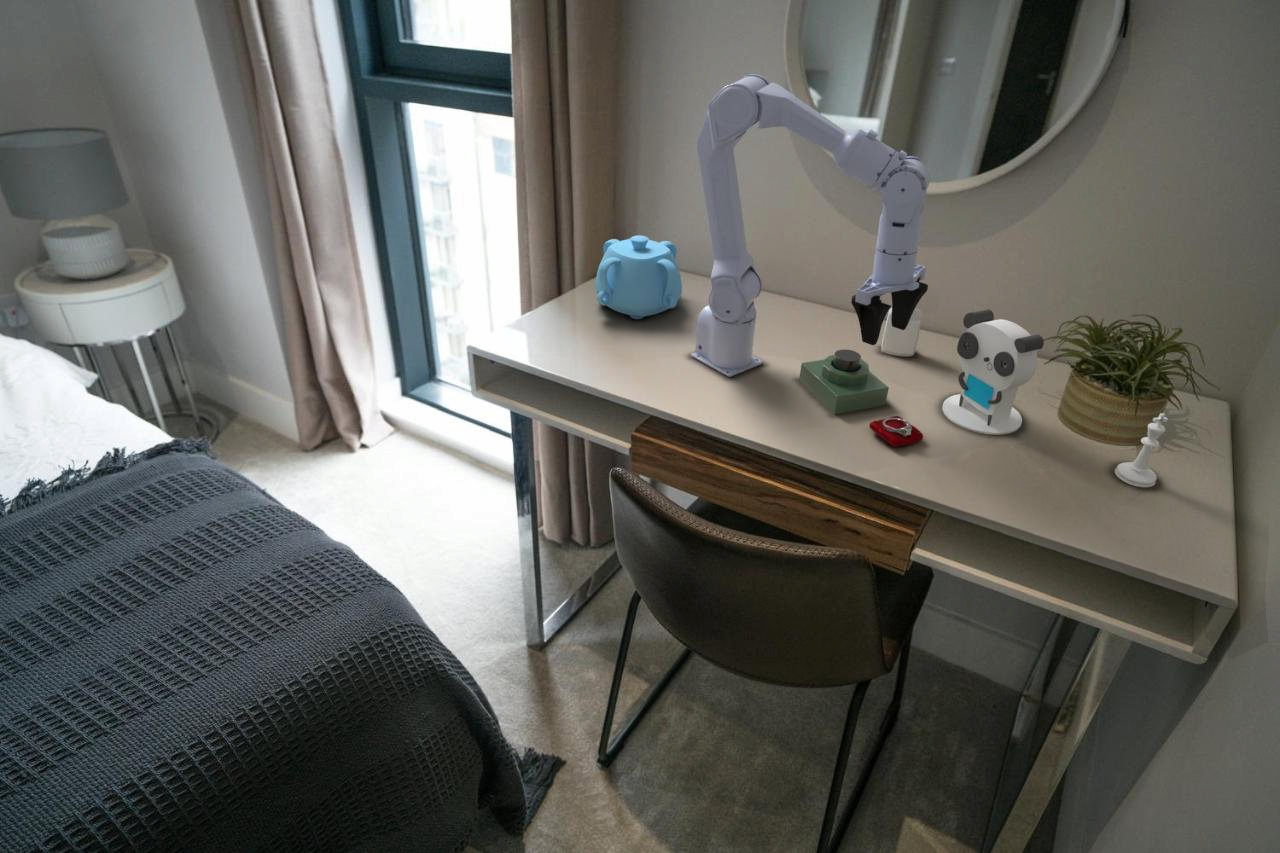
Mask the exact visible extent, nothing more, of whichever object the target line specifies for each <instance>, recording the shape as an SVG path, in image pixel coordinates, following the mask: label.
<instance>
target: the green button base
mask: <svg viewBox="0 0 1280 853" xmlns="http://www.w3.org/2000/svg"><path fill="white" fill-rule="evenodd" d="M833 360H834V354H832V355H828V356H826V357H825V358H823V359H819V360H818V359H817V360H811V361H806V362H801V364H800V372H799V378H798V379H799V382H800V383H801V384H802V385H803V386H804V387H805V388H806V389H807V390H808V391H810V392H811V394H813V396H815V397H816V399H818V400H819V401H820V402H821V403H822V404H823V405H824V406H825V407H826V408H827V409H828V410H829V412H831V413H832V414H833V415H838V414H843V413H844V414H845V413H849V412H854V411H861V410H866V409H872V408H876V407H877V408H878V407H882V406H886V403H887V398H888V394H889V390H890V389H889V388H890V387H889V385H887V384H886V383H884V382H883V381H882V380H881V379H879V378H878V376H876V375H875V374H873V373H872V372H871V371H870V366H869V364H868V363H867V361H865V360H864V359H862V358H861V360H860V365H859V370H858V371H855V372H844V371H840V370H837V369H835V368H834V367H833Z"/></svg>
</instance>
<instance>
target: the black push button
mask: <svg viewBox="0 0 1280 853" xmlns="http://www.w3.org/2000/svg"><path fill="white" fill-rule="evenodd" d="M833 355H834V360H833V367H834V368H835V369H837V370H840V371H844V372H855V371H858V370H859V365H860V360H861V359H862V356H861V354H860V353H859V352H857V351H855V350H852V349H845V348H844V349H839V350H836V351H835V352H834V353H833Z"/></svg>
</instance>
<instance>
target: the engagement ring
mask: <svg viewBox="0 0 1280 853" xmlns="http://www.w3.org/2000/svg"><path fill="white" fill-rule="evenodd" d="M868 425H869V426H868V427H869V429H870V430H872V431H873V433H875V434H876V435H878V436H879V437H880V438H881V439H882V440H884V441H885V442H887V443H888V445H891V446H892V447H893V448H895V447H903V446H904V447H905V446H908V445H912V444H915V443H917V442H920V441H922V440H923V438H924V434H923V433H922V432H921V431H920V429H918V428H917V427H916V426H914V425H912V424H911V423H910V421H909V420H907V419H905V418H903V417H901V416H899V415H893V416H889V417H887V418H883V419H879V420H873V421H871V422H870V423H869V424H868Z"/></svg>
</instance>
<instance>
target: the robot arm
mask: <svg viewBox="0 0 1280 853" xmlns="http://www.w3.org/2000/svg"><path fill="white" fill-rule="evenodd" d="M757 123H758V130H759V129H769V128H778V127H779V128H780V127H783V128H785V129H787V130H789V131H791V132H793V133H794V134H797V135H798V136H800V137H802V138H804V139H805V140H807V141H809V142H811V143H812V144H815V145H816V146H817V147H820V148H821V149H824V150H825V151H826V152H829V153H831V154H832V156H833V159H834V164H835V167H836V168H837V169H838V170H840V171H842V172H843V173H844V174H847V175H848V176H850V177H852V178H853V179H854V180H856V181H858V182H859V183H861V184H863V185H864V186H865V187H867V188H869V189H871V190H872V191H874V192H879V194H880V198H881V200H882V209H881V210H882V212H881V214H880V215H879V222H878V230H877V237H876V246H875V252H874V258H873V259H874V260H873V268H872V269H873V270H872V274H871V275H870V276H869V277H868V279H867V280H866V281H865V282H864V283H863V284H862V285H861V286H860V287H858V288H856V292H855V294H854V295H852V296H851V301H850V303H851V305H852V307H853V309H854V312H855V313H856V316H857V318H858V324H859V327H860V328H859V329H860V335H861V342H863V343H865V344H868V345H871V346H876V345H877V343H878V341H879V338H880V334H881V329H882V326H883V324H884V320H885V318H886V317H887V315H888V312H889V310H890V309H891V308H892V317H891V322H892V327H895V328H898V329H901V330H905V329H906V327H907V325H908V323H909V321H910V318H911V316H912V314H913V311H914V309H915V308H916V307H917V306H918V304H919V302H920V301H921V300H922V298H923V297H924V296H925V294H926V293H927V292H928V289H929V285H928V284H927V283H924V282H922V281H923V280H925V277H926V271H927V267H926V266H924V265H920V264H916V262H917V255H918V251H919V244H920V238H921V231H922V224H923V216H922V215H923V212H924V208H925V207H924V206H925V204H924V200H925V198H926V196H927V190H928V188H929V185H930V181H931V180H930V178H931V177H930V171H929V168H928V167H927V165H926V164H925V163H924V162H923V161H922V160H921V159H920V158H919V157H918V156H913V155H909V156H908V153H907V152H906V151H904V150H903V149H902V150H900V152H899V151H898V150H895V149H894V148H892V147H890V146H889V145H887V144H886V143H884V142H883V141H881V140H879V139H877V137H878V136H879V134H878V132H876V131H875V130H873V129H869V130H868V131H867V132H866V131H865V130H863V129H862V128H859V129H856V130H852V131H846V130H845V129H843V128H842V127H840V126H838V125H837V124H836V123H834V122H833V121H832V120H830V118H829V119H828V118H827V117H826V116H824V115H823V114H822V113H820V112H819V111H817V110H816V109H815V108H813V107H811V106H810V105H808V104H807V103H805V102H804V101H802V100H801V99H800V98H798V97H797V96H795V95H794V94H793V93H791V92H790V91H789V90H787V89H785V87H783V86H781V85H780V84H778V83H775V82H773V81H772V82H770V81H769V80H768V79H767V78H765V77H763V76H762V75H760V74H756V73H755V74H754V73H753V74H747V75H744V76H742V77H741V78H740V79H738V80H737V81H735V82H733V83H730V84H726V85H725V86H723V87H722V88H721V89H720V90H719V92H718V93H717V94H716V95H715V96H714V97H713V98H712V100H710V102H709V103H708V104H707V113H706V116H705V118H704V121H703V123H702V127H701V129H700V132H699V134H698V137H697V139H696V150H697V157H698V163H699V169H700V175H701V182H702V190H703V195H704V202H705V208H706V213H707V214H706V216H707V221H708V227H709V233H710V239H711V245H712V253H713V257H714V260H713V267H712V270H711V275H710V283H711V284H710V285H711V289H710V293H709V296H708V304H707V305H706V306H705V307H703V309H702V310H701V311H700V313H699V314H698V317H697V321H696V330H695V331H696V332H695V346H694V352H691V354H690V356H691V357H692V358H694V359H696V360H697V361H699V362H701V363H703V364H705V365H707V366H708V367H709V368H712V369H713V370H715V371H717V372H718V373H721V374H722V375H724V376H726V377H729V378H730V377H731V378H732V377H733V376H736V375H739V374H741V373H744V372H746V371H748V370H750V369H751V370H752V369H753V368H755V367H758V366H760V365H762V364H763V360H762V359H761V358H758V357H756V356H754V355H753V348H754V339H755V332H756V331H755V330H756V322H757V321H756V320H757V309H756V307H755V306H756V305H755V300H756V299H757V298H758V297H759V296H760V294H761V293H762V289H763V280H762V277H761V275H760V274H759V272H758V271H757V269H756V267H755V263H754V258H753V256H752V255H751V254H750V253H749V251H748V247H747V239H746V232H745V224H744V217H743V211H742V210H743V209H742V202H741V194H740V189H739V182H738V173H737V166H736V158H735V150H734V149H735V147H736V146H737V144H738V143H739V142H740V141H741V140H742V138H743V137H744V136H745V134H746V133H747V131H749V129H750V128H752V127H753V126H754V125H756V124H757ZM889 293H890V294H891V304H888V303H884V302H882V301H883V300H882V299H881V296H884V295H886V294H889Z"/></svg>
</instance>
